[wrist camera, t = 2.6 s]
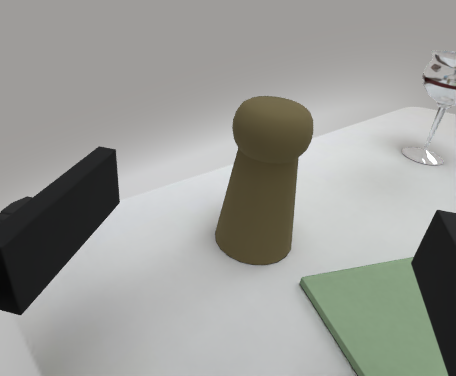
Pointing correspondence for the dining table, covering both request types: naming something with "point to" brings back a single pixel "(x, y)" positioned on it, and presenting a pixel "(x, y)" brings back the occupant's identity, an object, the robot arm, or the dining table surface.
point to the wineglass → (444, 95)
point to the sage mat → (378, 319)
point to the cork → (263, 179)
